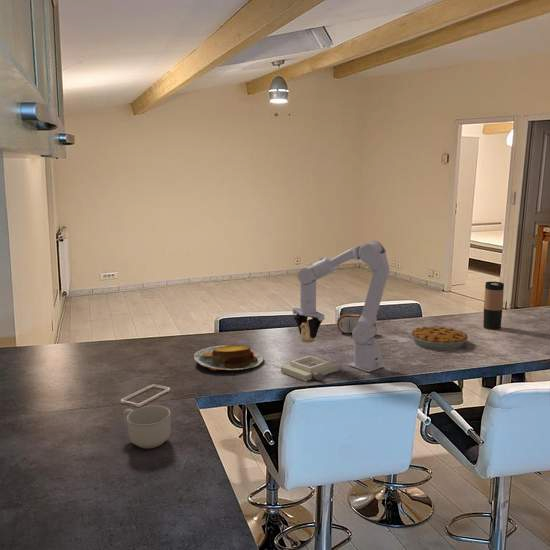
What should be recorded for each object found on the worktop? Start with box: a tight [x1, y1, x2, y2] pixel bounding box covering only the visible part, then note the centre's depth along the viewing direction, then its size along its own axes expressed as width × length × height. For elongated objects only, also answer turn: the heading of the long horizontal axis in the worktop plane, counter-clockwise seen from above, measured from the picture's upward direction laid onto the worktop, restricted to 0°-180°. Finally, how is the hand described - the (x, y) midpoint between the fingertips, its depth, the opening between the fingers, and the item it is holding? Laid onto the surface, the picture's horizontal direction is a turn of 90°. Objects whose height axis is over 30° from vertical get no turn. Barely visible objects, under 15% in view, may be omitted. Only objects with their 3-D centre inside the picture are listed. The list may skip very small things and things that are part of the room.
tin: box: [336, 313, 362, 334], centre depth 243 cm, size 15×3×8 cm, turn 84°
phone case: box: [120, 383, 171, 408], centre depth 176 cm, size 7×1×15 cm
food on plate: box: [193, 345, 264, 371], centre depth 207 cm, size 25×25×7 cm
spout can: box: [300, 319, 316, 344], centre depth 210 cm, size 5×6×7 cm
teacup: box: [122, 404, 172, 450], centre depth 145 cm, size 14×11×8 cm
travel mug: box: [482, 281, 505, 331], centre depth 250 cm, size 8×8×20 cm
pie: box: [410, 326, 468, 351], centre depth 229 cm, size 22×22×5 cm
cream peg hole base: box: [280, 355, 340, 382], centre depth 196 cm, size 15×16×4 cm
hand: (308, 335), depth 210 cm, fingers closed on spout can, 5 cm apart
